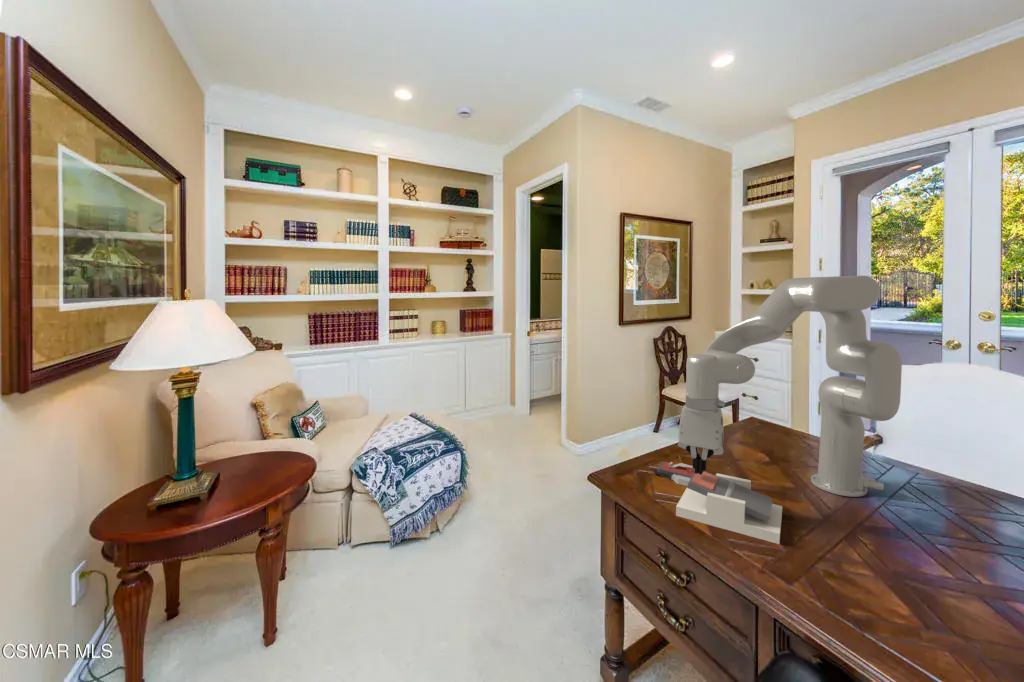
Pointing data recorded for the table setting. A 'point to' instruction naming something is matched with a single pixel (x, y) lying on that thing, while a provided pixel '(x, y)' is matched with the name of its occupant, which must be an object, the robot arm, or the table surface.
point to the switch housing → (729, 513)
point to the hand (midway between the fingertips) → (699, 472)
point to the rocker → (732, 493)
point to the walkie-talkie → (675, 472)
